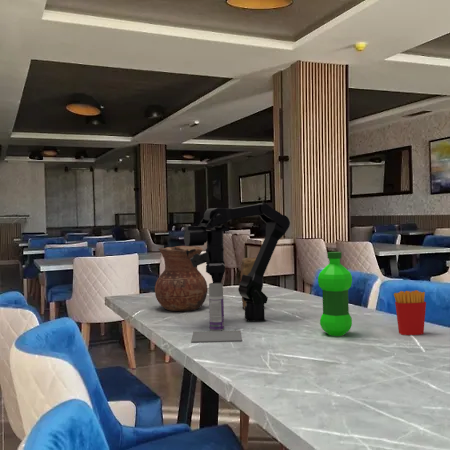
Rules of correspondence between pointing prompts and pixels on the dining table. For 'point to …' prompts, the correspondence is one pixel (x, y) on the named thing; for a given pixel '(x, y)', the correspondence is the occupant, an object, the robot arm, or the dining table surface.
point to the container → (216, 306)
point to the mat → (216, 336)
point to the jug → (180, 280)
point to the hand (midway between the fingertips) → (216, 290)
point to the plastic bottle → (335, 296)
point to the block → (246, 270)
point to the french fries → (410, 312)
